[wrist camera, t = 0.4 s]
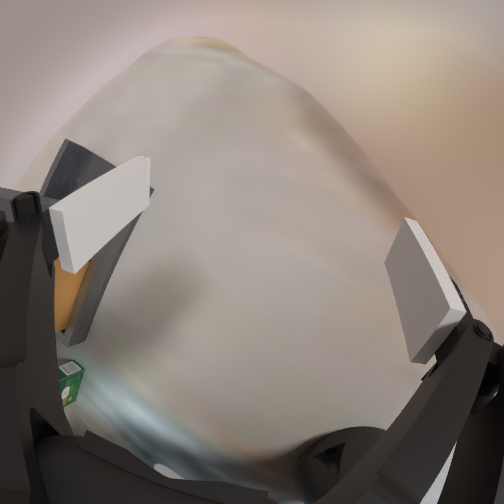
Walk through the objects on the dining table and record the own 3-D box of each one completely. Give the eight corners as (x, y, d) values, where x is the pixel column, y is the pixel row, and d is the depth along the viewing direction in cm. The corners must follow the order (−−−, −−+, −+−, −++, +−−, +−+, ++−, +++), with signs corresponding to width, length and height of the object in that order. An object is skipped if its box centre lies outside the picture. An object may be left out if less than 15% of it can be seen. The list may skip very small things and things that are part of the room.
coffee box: (73, 356, 37) (12, 381, 24) (86, 368, 36) (25, 397, 23) (64, 390, 37) (11, 417, 24) (76, 401, 37) (24, 432, 24)
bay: (82, 146, 37) (65, 138, 33) (154, 189, 34) (138, 182, 30) (28, 279, 38) (11, 281, 34) (85, 340, 36) (67, 347, 32)
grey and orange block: (62, 191, 36) (-21, 170, 20) (112, 230, 34) (14, 218, 18) (30, 279, 37) (-47, 285, 21) (73, 326, 35) (-12, 350, 19)
